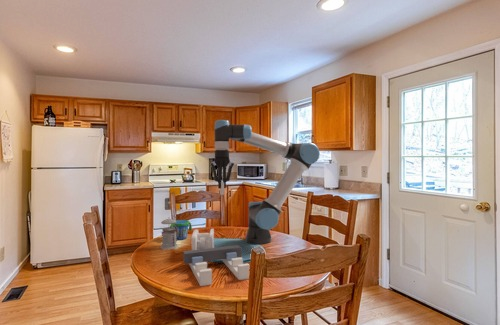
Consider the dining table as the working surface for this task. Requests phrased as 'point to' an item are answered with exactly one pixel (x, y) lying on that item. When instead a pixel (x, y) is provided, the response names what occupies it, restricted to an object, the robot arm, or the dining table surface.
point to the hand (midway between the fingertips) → (222, 194)
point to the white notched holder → (231, 262)
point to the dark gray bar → (211, 253)
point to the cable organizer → (202, 240)
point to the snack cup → (181, 228)
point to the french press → (169, 235)
